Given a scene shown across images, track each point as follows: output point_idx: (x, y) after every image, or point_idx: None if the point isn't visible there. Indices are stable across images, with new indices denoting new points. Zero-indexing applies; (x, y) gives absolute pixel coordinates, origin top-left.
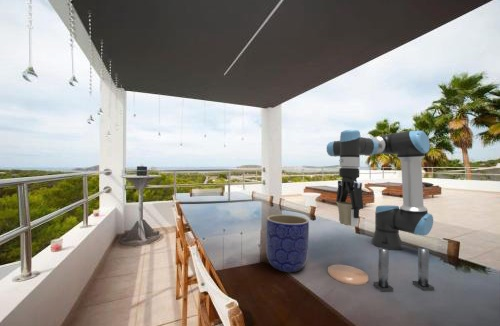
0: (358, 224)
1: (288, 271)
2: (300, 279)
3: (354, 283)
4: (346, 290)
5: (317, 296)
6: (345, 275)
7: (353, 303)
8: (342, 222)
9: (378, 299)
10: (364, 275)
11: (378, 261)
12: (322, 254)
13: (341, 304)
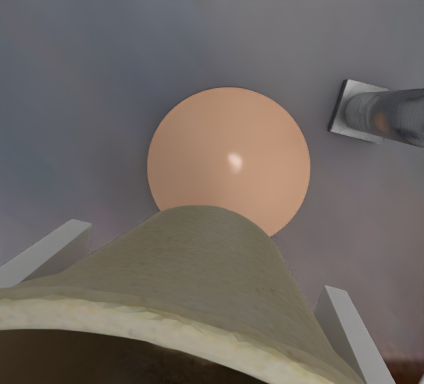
0: (351, 302)
1: None
2: None
3: (299, 205)
4: (315, 259)
5: None
6: (244, 198)
7: (380, 294)
8: (205, 375)
9: (402, 199)
10: (270, 116)
11: (388, 135)
12: (11, 121)
13: (368, 329)
